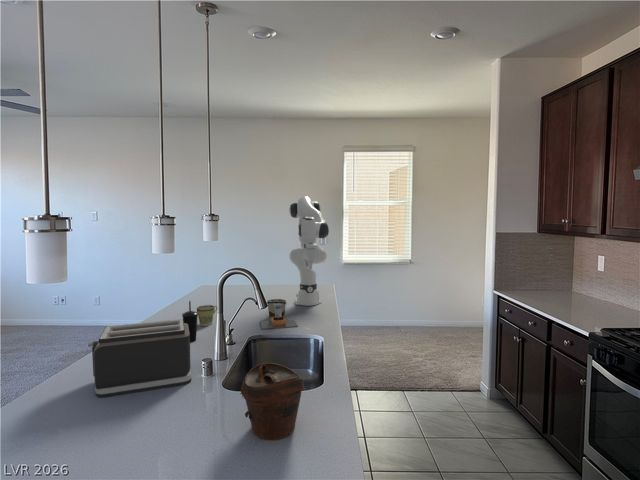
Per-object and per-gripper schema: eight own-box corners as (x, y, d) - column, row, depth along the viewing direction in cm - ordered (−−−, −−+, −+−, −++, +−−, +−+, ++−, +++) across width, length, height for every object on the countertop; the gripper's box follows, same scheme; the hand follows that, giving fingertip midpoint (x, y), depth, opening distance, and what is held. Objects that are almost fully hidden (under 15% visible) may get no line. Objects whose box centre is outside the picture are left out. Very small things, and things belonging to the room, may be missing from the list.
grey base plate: (259, 322, 224) (259, 316, 224) (293, 320, 229) (293, 314, 229) (261, 329, 211) (261, 323, 210) (297, 326, 215) (297, 320, 215)
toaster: (95, 378, 149) (92, 326, 148) (189, 365, 162) (188, 317, 160) (84, 401, 131) (82, 342, 130) (192, 384, 144) (190, 330, 142)
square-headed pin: (274, 323, 221) (274, 303, 220) (281, 322, 222) (281, 303, 221) (275, 324, 217) (275, 305, 217) (282, 324, 218) (282, 305, 217)
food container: (288, 314, 241) (288, 299, 240) (286, 317, 235) (286, 301, 234) (269, 314, 242) (268, 298, 242) (266, 316, 236) (266, 300, 235)
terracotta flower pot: (259, 406, 127) (258, 353, 125) (315, 419, 119) (315, 362, 117) (226, 436, 110) (225, 375, 109) (289, 453, 102) (288, 388, 101)
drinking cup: (179, 340, 192) (178, 301, 191) (194, 337, 198) (192, 298, 197) (187, 344, 187) (186, 303, 186) (201, 340, 193) (200, 301, 191)
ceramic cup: (204, 327, 214) (203, 310, 213) (193, 324, 220) (192, 307, 220) (222, 322, 224) (222, 305, 224) (212, 319, 231) (211, 303, 230)
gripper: (300, 243, 236) (300, 265, 237) (306, 245, 216) (306, 270, 217) (310, 243, 238) (310, 265, 238) (317, 245, 218) (317, 270, 219)
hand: (308, 267), depth 228 cm, fingers open, 8 cm apart
